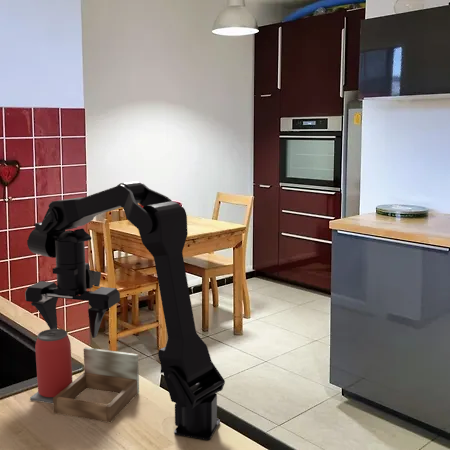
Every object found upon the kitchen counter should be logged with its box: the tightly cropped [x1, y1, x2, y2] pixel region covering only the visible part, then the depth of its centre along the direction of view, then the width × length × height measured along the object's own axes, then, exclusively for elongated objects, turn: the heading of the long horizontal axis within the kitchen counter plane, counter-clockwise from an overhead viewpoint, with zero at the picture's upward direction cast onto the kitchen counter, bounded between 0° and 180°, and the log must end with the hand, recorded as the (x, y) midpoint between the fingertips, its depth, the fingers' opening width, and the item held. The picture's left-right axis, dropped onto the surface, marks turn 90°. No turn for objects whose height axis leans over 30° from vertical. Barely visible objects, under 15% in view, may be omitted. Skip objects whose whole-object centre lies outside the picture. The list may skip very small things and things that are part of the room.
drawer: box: [52, 347, 140, 424], centre depth 110 cm, size 12×12×8 cm
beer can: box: [34, 328, 74, 398], centre depth 112 cm, size 7×7×12 cm
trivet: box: [29, 391, 53, 404], centre depth 114 cm, size 6×7×1 cm
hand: (74, 334), depth 119 cm, fingers open, 9 cm apart
